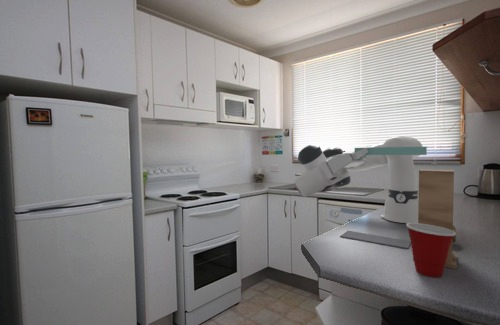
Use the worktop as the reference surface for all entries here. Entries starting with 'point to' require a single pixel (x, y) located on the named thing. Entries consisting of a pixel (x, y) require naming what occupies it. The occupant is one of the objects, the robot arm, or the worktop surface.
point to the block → (395, 150)
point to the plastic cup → (430, 247)
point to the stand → (437, 203)
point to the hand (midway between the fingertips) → (369, 150)
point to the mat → (377, 239)
